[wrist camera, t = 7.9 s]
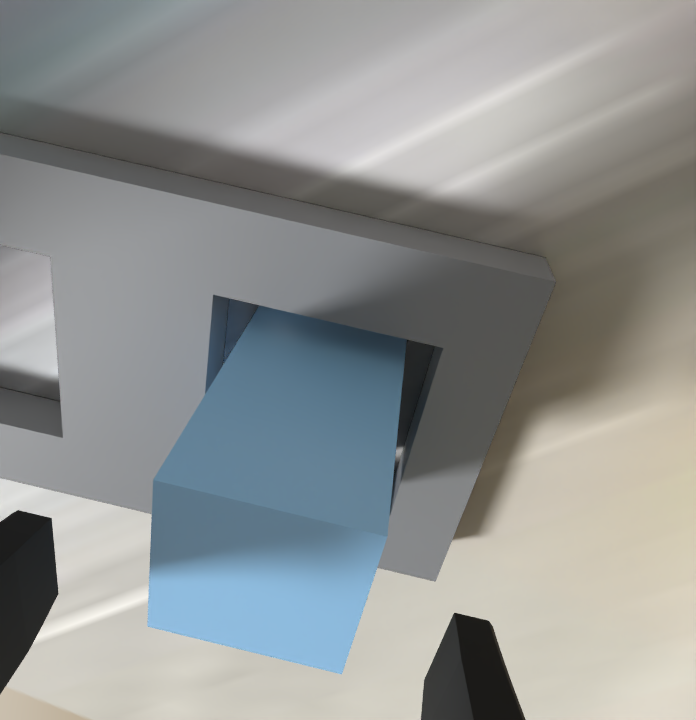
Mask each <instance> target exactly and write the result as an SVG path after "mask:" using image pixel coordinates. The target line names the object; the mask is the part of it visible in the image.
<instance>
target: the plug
mask: <svg viewBox="0 0 696 720" xmlns="http://www.w3.org/2000/svg"><path fill="white" fill-rule="evenodd" d="M406 341H407V339H402V338H398V337H394V336H390V335H385V334H381V333H377V332H372V331H368V330H364V329H359V328H355V327H351V326H346V325H342V324H338V323H334V322H329V321H325V320H321V319H316V318H312V317H308V316H303V315H299V314H295V313H290V312H286V311H282V310H277V309H273V308H269V307H265V306H260V305H259V307H258V309H257V310H256V312H255V314H254V315H253V317H252V319H251V320H250V322H249V323H248V325H247V327H246V328H245V330H244V332H243V333H242V335H241V337H240V338H239V340H238V341H237V343H236V345H235V346H234V348H233V350H232V351H231V353H230V355H229V356H228V358H227V360H226V361H225V363H224V364H223V366H222V368H221V369H220V371H219V373H218V374H217V376H216V378H215V379H214V381H213V382H212V384H211V386H210V387H209V389H208V391H207V392H206V394H205V396H204V397H203V399H202V401H201V402H200V404H199V405H198V407H197V409H196V410H195V412H194V414H193V415H192V417H191V419H190V420H189V422H188V423H187V425H186V427H185V428H184V430H183V432H182V433H181V435H180V437H179V438H178V440H177V442H176V443H175V445H174V446H173V448H172V450H171V451H170V453H169V455H168V456H167V458H166V460H165V461H164V463H163V464H162V466H161V468H160V469H159V471H158V473H157V474H156V476H155V478H154V479H153V497H152V523H151V549H150V575H149V601H148V627H152V628H156V629H160V630H164V631H168V632H172V633H176V634H180V635H184V636H188V637H192V638H196V639H200V640H204V641H208V642H213V643H217V644H221V645H225V646H229V647H233V648H237V649H241V650H245V651H249V652H253V653H257V654H261V655H265V656H270V657H274V658H278V659H282V660H286V661H290V662H294V663H298V664H302V665H306V666H310V667H314V668H318V669H322V670H326V671H331V672H335V673H339V674H342V672H343V669H344V666H345V663H346V660H347V657H348V654H349V651H350V648H351V645H352V642H353V639H354V636H355V633H356V630H357V627H358V624H359V621H360V618H361V615H362V612H363V609H364V606H365V603H366V600H367V597H368V594H369V591H370V588H371V585H372V582H373V579H374V576H375V573H376V570H377V567H378V564H379V561H380V558H381V555H382V552H383V549H384V546H385V543H386V540H387V536H388V526H389V516H390V505H391V495H392V485H393V475H394V464H395V454H396V444H397V434H398V423H399V413H400V403H401V393H402V382H403V372H404V362H405V352H406Z"/></svg>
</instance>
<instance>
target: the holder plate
mask: <svg viewBox="0 0 696 720" xmlns="http://www.w3.org/2000/svg"><path fill="white" fill-rule="evenodd" d="M0 245H2V246H6V247H10V248H15V249H19V250H23V251H28V252H32V253H36V254H41V255H45V256H49V257H50V260H51V274H52V288H53V303H54V317H55V331H56V345H57V359H58V373H59V388H60V402H59V401H55V400H51V399H47V398H43V397H38V396H34V395H30V394H26V393H21V392H17V391H13V390H9V389H4V388H0V478H2V479H7V480H11V481H15V482H19V483H23V484H28V485H32V486H36V487H40V488H44V489H49V490H53V491H57V492H61V493H65V494H70V495H74V496H78V497H82V498H86V499H91V500H95V501H99V502H103V503H107V504H112V505H116V506H120V507H124V508H128V509H133V510H137V511H141V512H145V513H150V514H152V497H153V479H154V478H155V476H156V474H157V473H158V471H159V469H160V468H161V466H162V464H163V463H164V461H165V460H166V458H167V456H168V455H169V453H170V451H171V450H172V448H173V446H174V445H175V443H176V442H177V440H178V438H179V437H180V435H181V433H182V432H183V430H184V428H185V427H186V425H187V423H188V422H189V420H190V419H191V417H192V415H193V414H194V412H195V410H196V409H197V407H198V405H199V404H200V402H201V401H202V399H203V397H204V396H205V394H206V392H207V391H208V389H209V387H210V386H211V384H212V382H213V381H214V379H215V378H216V376H217V374H218V373H219V371H220V369H221V368H222V366H223V356H224V345H225V335H226V325H227V314H228V304H229V298H230V299H234V300H239V301H243V302H247V303H252V304H256V305H260V306H265V307H269V308H273V309H277V310H282V311H286V312H290V313H295V314H299V315H303V316H308V317H312V318H316V319H321V320H325V321H329V322H334V323H338V324H342V325H346V326H351V327H355V328H359V329H364V330H368V331H372V332H377V333H381V334H385V335H390V336H394V337H398V338H402V339H407V340H411V341H415V342H420V343H424V344H428V345H433V346H435V347H434V351H433V354H432V357H431V360H430V364H429V367H428V370H427V373H426V377H425V380H424V383H423V386H422V390H421V393H420V396H419V399H418V403H417V406H416V409H415V413H414V416H413V419H412V422H411V426H410V429H409V432H408V435H407V439H406V442H405V445H404V448H403V452H402V455H401V458H400V461H399V465H398V468H397V471H396V474H395V478H394V480H393V485H392V495H391V505H390V516H389V526H388V536H387V540H386V543H385V546H384V549H383V552H382V555H381V558H380V561H379V564H378V567H377V568H381V569H385V570H389V571H393V572H397V573H402V574H406V575H410V576H414V577H418V578H423V579H427V580H431V581H436V579H437V576H438V574H439V571H440V569H441V566H442V564H443V561H444V559H445V556H446V554H447V551H448V549H449V547H450V544H451V542H452V539H453V537H454V534H455V532H456V529H457V527H458V524H459V522H460V519H461V517H462V514H463V512H464V509H465V507H466V504H467V502H468V499H469V497H470V494H471V492H472V489H473V487H474V484H475V482H476V479H477V477H478V474H479V472H480V470H481V467H482V465H483V462H484V460H485V457H486V455H487V452H488V450H489V447H490V445H491V442H492V440H493V437H494V435H495V432H496V430H497V427H498V425H499V422H500V420H501V417H502V415H503V412H504V410H505V407H506V405H507V402H508V400H509V397H510V395H511V393H512V390H513V388H514V385H515V383H516V380H517V378H518V375H519V373H520V370H521V368H522V365H523V363H524V360H525V358H526V355H527V353H528V350H529V348H530V345H531V343H532V340H533V338H534V335H535V333H536V330H537V328H538V325H539V323H540V320H541V318H542V316H543V313H544V311H545V308H546V306H547V303H548V301H549V298H550V296H551V293H552V291H553V288H554V286H555V283H556V280H555V278H554V276H553V274H552V271H551V269H550V267H549V264H548V262H547V260H546V258H545V257H541V256H536V255H532V254H528V253H523V252H519V251H515V250H510V249H506V248H501V247H497V246H493V245H488V244H484V243H480V242H475V241H471V240H467V239H462V238H458V237H453V236H449V235H445V234H440V233H436V232H432V231H427V230H423V229H419V228H414V227H410V226H406V225H401V224H397V223H392V222H388V221H384V220H379V219H375V218H371V217H366V216H362V215H358V214H353V213H349V212H344V211H340V210H336V209H331V208H327V207H323V206H318V205H314V204H310V203H305V202H301V201H296V200H292V199H288V198H283V197H279V196H275V195H270V194H266V193H262V192H257V191H253V190H248V189H244V188H240V187H235V186H231V185H227V184H222V183H218V182H214V181H209V180H205V179H200V178H196V177H192V176H187V175H183V174H179V173H174V172H170V171H166V170H161V169H157V168H152V167H148V166H144V165H139V164H135V163H131V162H126V161H122V160H118V159H113V158H109V157H105V156H100V155H96V154H91V153H87V152H83V151H78V150H74V149H70V148H65V147H61V146H57V145H52V144H48V143H43V142H39V141H35V140H30V139H26V138H22V137H17V136H13V135H9V134H4V133H0Z"/></svg>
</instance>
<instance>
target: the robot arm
mask: <svg viewBox="0 0 696 720" xmlns="http://www.w3.org/2000/svg"><path fill="white" fill-rule="evenodd" d="M57 595H58V584H57V573H56V562H55V551H54V540H53V529H52V518H48V517H44V516H40V515H36V514H31V513H27V512H23V511H19V510H18V511H16V512H14V513H12V514H11V515H9V516H8V517H7V518H5V519H4V520H2V521H1V522H0V694H1V692H2V691H3V689H4V688H5V686H6V685H7V683H8V682H9V680H10V679H11V677H12V676H13V674H14V673H15V671H16V670H17V668H18V667H19V665H20V663H21V662H22V660H23V659H24V657H25V656H26V654H27V653H28V651H29V649H30V647H31V646H32V644H33V642H34V640H35V638H36V636H37V634H38V632H39V631H40V629H41V627H42V625H43V623H44V621H45V619H46V617H47V615H48V613H49V611H50V609H51V607H52V605H53V603H54V601H55V599H56V597H57ZM421 720H525V717H524V715H523V712H522V709H521V707H520V704H519V701H518V699H517V696H516V693H515V691H514V688H513V685H512V682H511V680H510V677H509V674H508V671H507V668H506V665H505V663H504V660H503V657H502V654H501V651H500V648H499V645H498V642H497V639H496V636H495V632H494V629H493V626H492V625H491V623H490V622H489V621H487V620H483V619H479V618H475V617H470V616H466V615H462V614H458V613H454V614H453V617H452V619H451V621H450V623H449V626H448V628H447V630H446V632H445V635H444V637H443V639H442V641H441V644H440V646H439V648H438V650H437V653H436V655H435V657H434V659H433V662H432V664H431V666H430V668H429V671H428V673H427V675H426V677H425V680H424V690H423V702H422V714H421Z"/></svg>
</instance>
